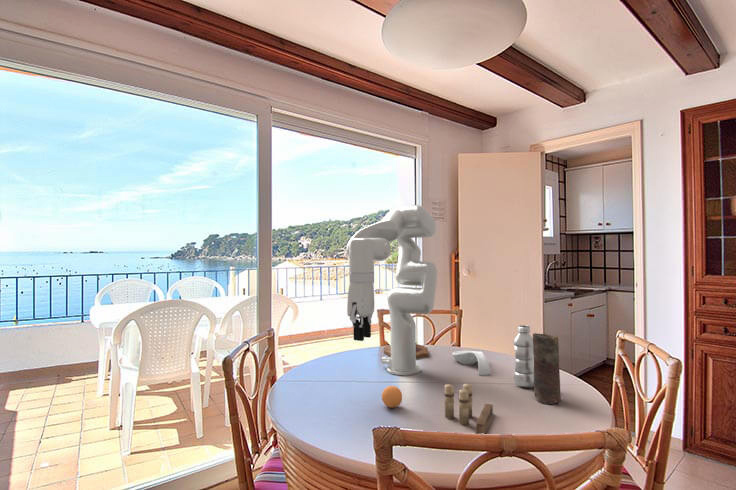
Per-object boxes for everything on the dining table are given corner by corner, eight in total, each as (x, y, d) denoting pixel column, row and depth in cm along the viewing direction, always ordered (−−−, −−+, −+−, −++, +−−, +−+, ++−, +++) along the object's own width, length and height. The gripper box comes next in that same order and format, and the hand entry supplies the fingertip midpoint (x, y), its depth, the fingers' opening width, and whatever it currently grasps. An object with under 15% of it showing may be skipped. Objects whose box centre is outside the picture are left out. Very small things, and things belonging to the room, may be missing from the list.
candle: (529, 395, 125) (528, 331, 125) (551, 395, 126) (550, 331, 126) (542, 405, 117) (541, 337, 118) (565, 404, 118) (564, 336, 118)
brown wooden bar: (476, 433, 100) (476, 423, 100) (485, 412, 113) (485, 403, 113) (484, 434, 99) (484, 424, 99) (492, 413, 112) (492, 404, 112)
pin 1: (462, 417, 110) (461, 386, 110) (464, 413, 112) (463, 383, 112) (471, 418, 109) (471, 387, 109) (473, 415, 111) (472, 384, 111)
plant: (389, 361, 166) (389, 334, 166) (380, 350, 185) (380, 325, 185) (435, 359, 169) (435, 332, 169) (422, 347, 188) (421, 324, 188)
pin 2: (458, 424, 105) (457, 392, 105) (460, 420, 108) (459, 388, 108) (467, 426, 104) (467, 393, 104) (469, 422, 106) (469, 390, 107)
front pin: (443, 417, 109) (443, 386, 110) (446, 414, 112) (445, 383, 112) (452, 419, 108) (452, 387, 108) (455, 415, 111) (454, 385, 111)
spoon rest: (448, 359, 168) (448, 342, 168) (474, 357, 170) (474, 340, 170) (470, 377, 145) (470, 357, 145) (501, 375, 146) (500, 355, 146)
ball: (378, 408, 116) (378, 388, 116) (386, 401, 121) (386, 381, 121) (397, 412, 113) (397, 391, 113) (405, 404, 119) (405, 384, 119)
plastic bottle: (537, 390, 130) (536, 328, 130) (515, 389, 131) (514, 328, 131) (533, 383, 136) (532, 324, 136) (512, 382, 137) (511, 324, 138)
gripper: (362, 276, 131) (363, 332, 131) (337, 280, 116) (337, 343, 116) (383, 276, 128) (384, 334, 128) (360, 280, 113) (361, 346, 112)
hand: (362, 338), depth 122 cm, fingers open, 4 cm apart
